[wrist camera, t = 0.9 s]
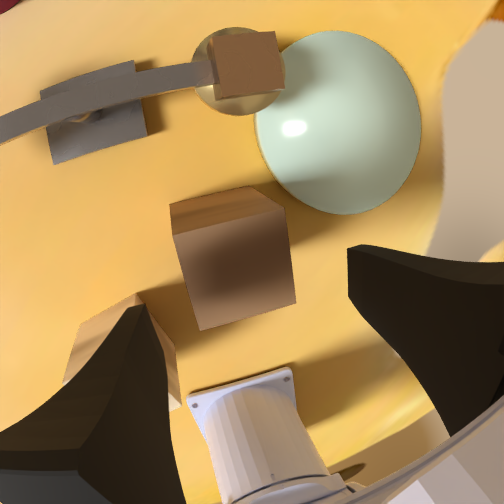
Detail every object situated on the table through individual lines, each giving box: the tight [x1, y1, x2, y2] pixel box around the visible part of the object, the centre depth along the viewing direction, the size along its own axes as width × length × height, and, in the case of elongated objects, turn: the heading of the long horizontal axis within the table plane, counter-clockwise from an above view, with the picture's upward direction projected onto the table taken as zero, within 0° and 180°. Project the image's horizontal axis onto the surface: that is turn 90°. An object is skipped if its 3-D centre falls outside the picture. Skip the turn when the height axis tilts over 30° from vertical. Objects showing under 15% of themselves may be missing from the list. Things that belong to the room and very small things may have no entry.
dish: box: [254, 31, 421, 215], centre depth 17 cm, size 11×11×1 cm
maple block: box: [62, 293, 182, 412], centre depth 16 cm, size 4×4×6 cm
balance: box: [0, 27, 286, 165], centre depth 11 cm, size 4×18×6 cm, turn 100°
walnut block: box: [169, 186, 296, 331], centre depth 15 cm, size 4×4×6 cm
